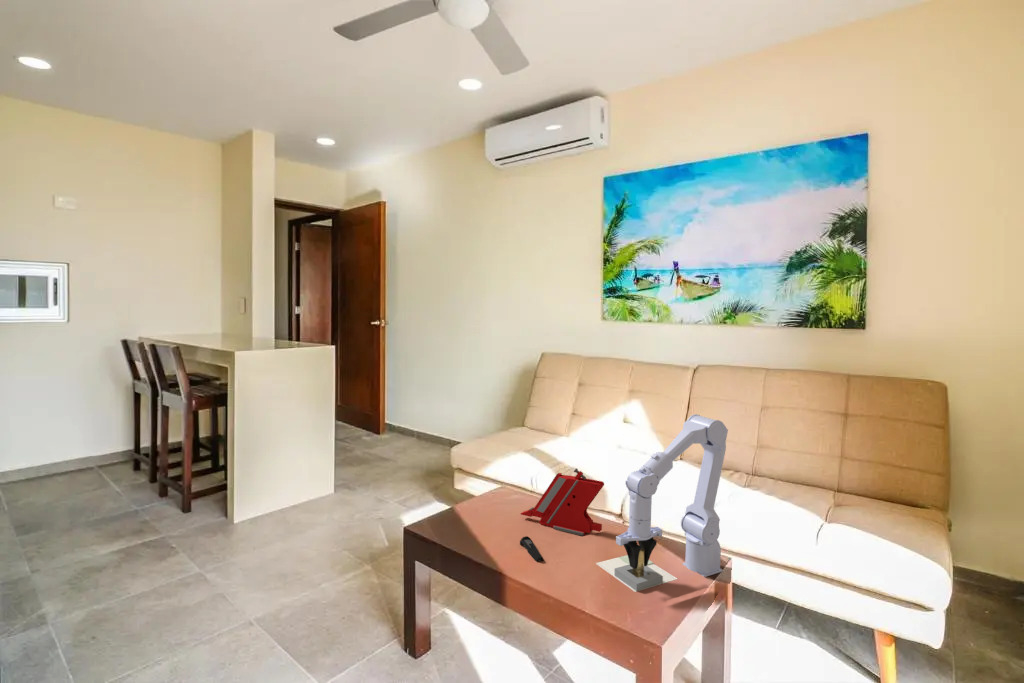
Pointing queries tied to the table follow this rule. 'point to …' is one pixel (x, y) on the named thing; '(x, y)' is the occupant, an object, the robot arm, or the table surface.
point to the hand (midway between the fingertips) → (638, 565)
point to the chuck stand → (625, 574)
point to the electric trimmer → (531, 548)
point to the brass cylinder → (640, 564)
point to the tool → (568, 504)
